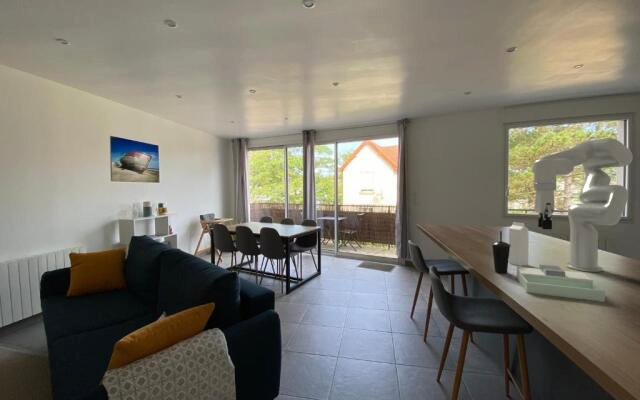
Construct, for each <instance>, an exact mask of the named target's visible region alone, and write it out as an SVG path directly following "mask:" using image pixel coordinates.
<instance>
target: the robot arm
mask: <svg viewBox="0 0 640 400" xmlns="http://www.w3.org/2000/svg"><path fill="white" fill-rule="evenodd" d="M633 157H634V156H633V153H632V151H631V150H630V148H628V147H627V146H626V145H625V144H623V143H622V142H621V141H620V140H618V139H615V138H613V137H606V138H604V137H603V138H598V139H597V138H596V139H591V140H585V141H582V142H580V143H577V144H575V146H573V147H571V148H569V149H566V150H562V151H560V152H555V153H552V154H549V155H546V156H544V157H541V158H540V159H537V160H535V161H534V163H533V165H532V168H531V169H532V173H533V191H534V192H535V197H534V211H535V212H536V213H538V220H537V221H538V222H537V227H538V228H542V230H552V229H553V214H554V212H555V191H557V176H567V175H569V174H571V173H572V172H573V171H574V170H575V167H578V166H580V165H582V167H583V170H584V173H585V177H586V178H585V181H584V183H583V185H582V188H581V190H580V193H579V197H578V199H579V201H580V202H581V203H574V204H572V205H570V206H569V207H568V208H567V217H568V221H569V228H570V230H569V232H570V233H569V234H570V235H569V240H570V241H569V243H570V244H569V261H568V262H566V263H565V266H566V268H569V269H572V270H575V271H579V272H589V273H590V272H591V273H598V272H602V271H603V267H601V266H599V263H598V262H599V232H598V231H597V229H596V227H595V226H594V225H600V226H614V225H616V224H618V223H619V222H620V220H621V217H622V216H623V212H624V210H625V207H626V205H627V203H628V200H629V191H628V189H627V188H626V187H625V186H624V185H621V184H620V185H619V184H611V181H612V179H611V176H610V175H609V174H608V173H607V172H606V171H604V169H608V168H621V167H623V168H624V167H627V166H629V165H630V164H631V163H632V161H633V159H634V158H633Z"/></svg>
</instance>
